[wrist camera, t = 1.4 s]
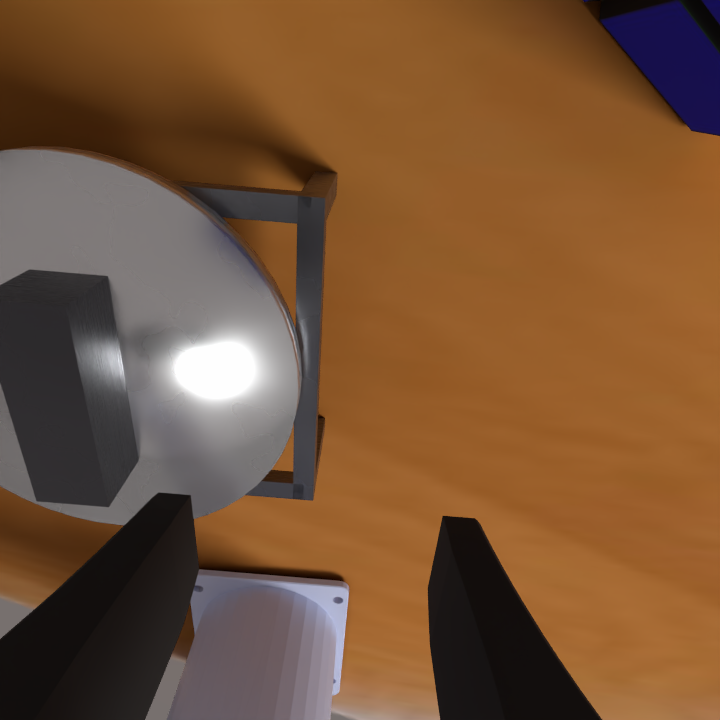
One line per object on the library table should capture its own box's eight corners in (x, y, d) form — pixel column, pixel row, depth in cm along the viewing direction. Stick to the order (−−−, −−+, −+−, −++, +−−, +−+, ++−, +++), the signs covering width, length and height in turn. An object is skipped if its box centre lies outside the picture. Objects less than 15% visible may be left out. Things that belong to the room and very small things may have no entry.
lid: (298, 521, 18) (285, 591, 16) (-38, 493, 18) (-104, 559, 16) (306, 167, 12) (288, 188, 10) (-183, 125, 12) (-323, 137, 10)
